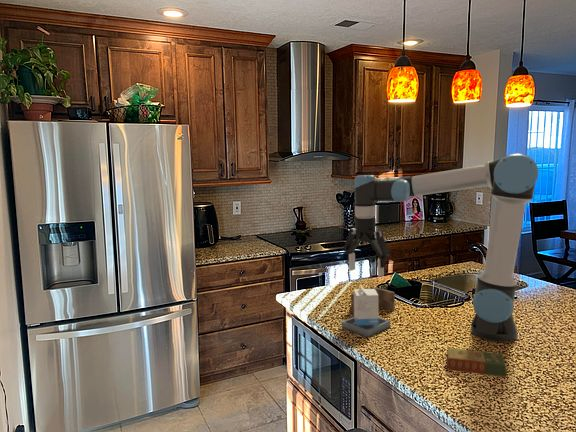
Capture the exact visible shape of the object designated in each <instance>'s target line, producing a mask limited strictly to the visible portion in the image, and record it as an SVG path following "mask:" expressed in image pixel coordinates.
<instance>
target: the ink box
mask: <svg viewBox="0 0 576 432" xmlns="http://www.w3.org/2000/svg"><path fill="white" fill-rule="evenodd" d="M359 287H360V289H359V288H358V289H356V288H355V289H353V293H354V313H353V317H354V319H355V321H356V324H357V326H365V325H379V318H380V316H379V313H380V311H379V308H380V307H379V306H378V294H377V292H376V290H375V289H370V288H365V287H363V286H362V285H359Z"/></svg>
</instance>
